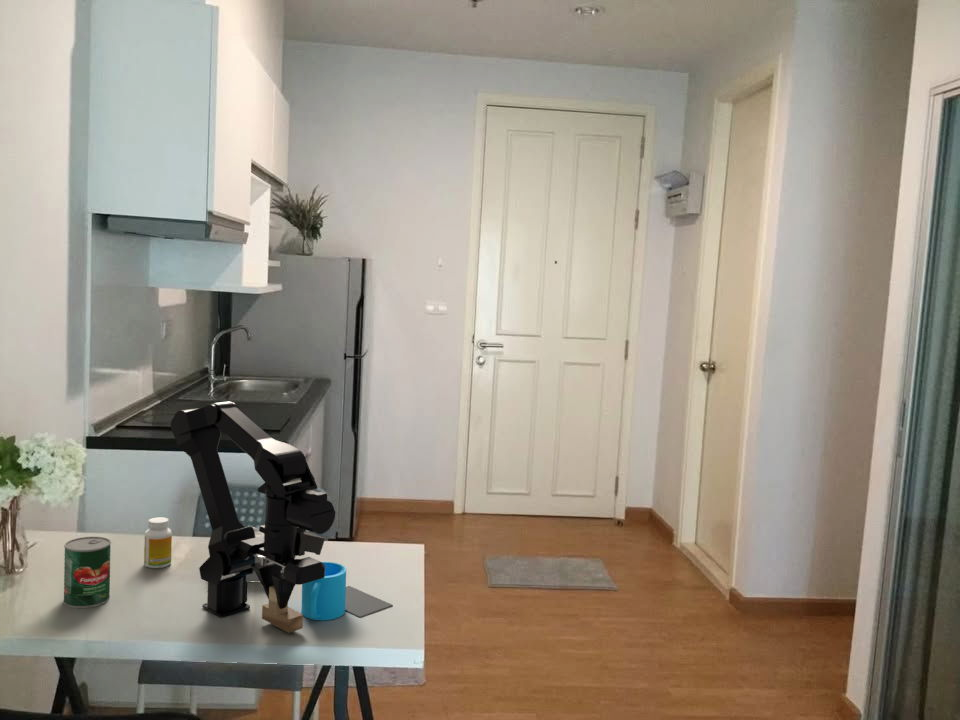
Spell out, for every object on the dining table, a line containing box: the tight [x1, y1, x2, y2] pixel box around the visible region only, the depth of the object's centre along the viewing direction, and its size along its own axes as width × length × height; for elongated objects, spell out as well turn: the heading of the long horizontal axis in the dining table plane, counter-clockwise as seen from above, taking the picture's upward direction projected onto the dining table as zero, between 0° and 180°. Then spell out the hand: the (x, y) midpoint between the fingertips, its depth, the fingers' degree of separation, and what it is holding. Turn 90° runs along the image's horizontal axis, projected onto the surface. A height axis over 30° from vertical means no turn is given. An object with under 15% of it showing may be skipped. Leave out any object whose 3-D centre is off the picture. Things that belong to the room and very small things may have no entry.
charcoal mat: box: [345, 585, 393, 618], centre depth 165 cm, size 8×13×1 cm, turn 49°
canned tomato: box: [63, 536, 112, 609], centre depth 157 cm, size 8×8×11 cm
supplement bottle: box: [143, 516, 173, 569], centre depth 178 cm, size 5×5×10 cm
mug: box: [301, 561, 347, 621], centre depth 157 cm, size 12×8×8 cm
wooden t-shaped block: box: [261, 586, 304, 634], centre depth 150 cm, size 4×8×7 cm, turn 49°
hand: (278, 605), depth 150 cm, fingers closed on wooden t-shaped block, 2 cm apart
